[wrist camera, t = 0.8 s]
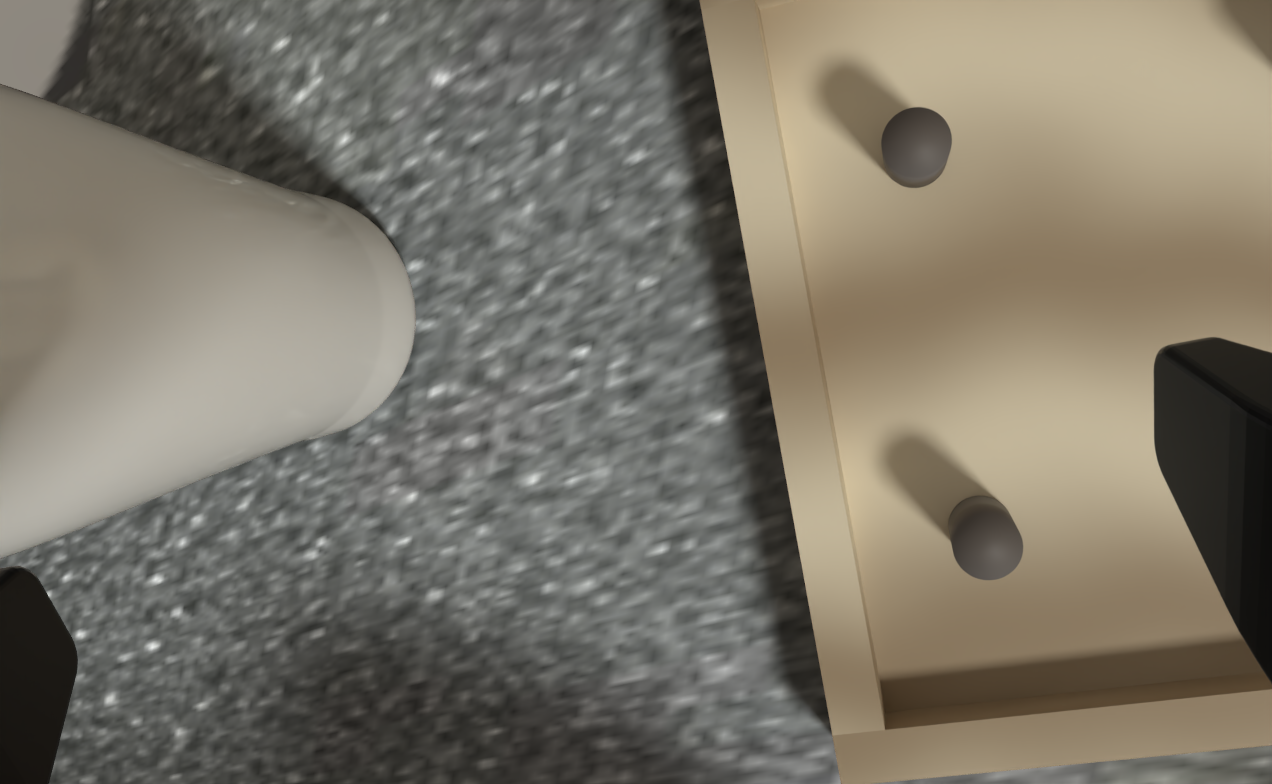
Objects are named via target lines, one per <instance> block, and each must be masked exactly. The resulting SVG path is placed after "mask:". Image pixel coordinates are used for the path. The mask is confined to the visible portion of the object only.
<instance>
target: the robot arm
mask: <svg viewBox="0 0 1272 784" xmlns="http://www.w3.org/2000/svg"><path fill="white" fill-rule="evenodd" d="M1153 373H1154V446H1155V452H1156V457H1157V461H1158V464H1159V467H1160V470H1161V472H1162V475H1163V477H1164V479H1165V481H1166V483H1167V485H1168V487H1169V489H1170V491H1171V494H1172V496H1173V498H1174V500H1175V502H1176V504H1177V506H1178V508H1179V510H1180V512H1181V514H1182V516H1183V518H1184V521H1185V523H1186V525H1187V527H1188V529H1189V531H1190V533H1191V535H1192V537H1193V539H1194V541H1195V543H1196V545H1197V547H1198V550H1199V552H1200V554H1201V556H1202V558H1203V560H1204V562H1205V564H1206V566H1207V568H1208V570H1209V572H1210V574H1211V577H1212V579H1213V581H1214V583H1215V585H1216V587H1217V589H1218V591H1219V593H1220V595H1221V597H1222V599H1223V601H1224V603H1225V606H1226V607H1227V609H1228V611H1229V613H1230V615H1231V617H1232V619H1233V621H1234V623H1235V625H1236V627H1237V629H1238V631H1239V632H1240V634H1241V636H1242V637H1243V639H1244V641H1245V642H1246V644H1247V646H1248V647H1249V649H1250V651H1251V652H1252V654H1253V656H1254V657H1255V659H1256V660H1257V662H1258V663H1259V665H1260V667H1261V668H1262V670H1263V671H1264V673H1265V674H1266V676H1267V677H1268V679H1269V680H1270V682H1271V684H1272V353H1271V352H1268V351H1264V350H1261V349H1257V348H1254V347H1250V346H1247V345H1243V344H1240V343H1236V342H1233V341H1229V340H1226V339H1223V338H1219V337H1206V338H1201V339H1196V340H1191V341H1185V342H1180V343H1175V344H1170V345H1167V346H1164V347H1162V348H1161V349H1160V350H1159V352H1158V353H1157V355H1156V358H1155V362H1154V371H1153ZM77 664H78V658H77V651H76V647H75V644H74V641H73V639H72V637H71V635H70V633H69V632H68V630H67V628H66V626H65V625H64V623H63V621H62V619H61V617H60V616H59V614H58V612H57V610H56V609H55V607H54V605H53V603H52V602H51V600H50V598H49V596H48V595H47V593H46V591H45V589H44V588H43V586H42V584H41V582H40V581H39V579H38V578H37V576H36V575H35V574H34V573H33V572H31V571H30V570H29V569H27V568H24V567H21V566H11V567H6V568H0V784H49V781H50V777H51V773H52V769H53V765H54V761H55V757H56V753H57V749H58V745H59V741H60V737H61V733H62V729H63V725H64V721H65V717H66V713H67V709H68V706H69V702H70V698H71V694H72V690H73V686H74V682H75V678H76V674H77Z"/></svg>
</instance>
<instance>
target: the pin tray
mask: <svg viewBox="0 0 1272 784" xmlns="http://www.w3.org/2000/svg"><path fill="white" fill-rule="evenodd" d="M700 6H701V11H702V17H703V22H704V28H705V33H706V39H707V44H708V50H709V55H710V61H711V66H712V72H713V77H714V83H715V89H716V94H717V100H718V105H719V111H720V116H721V122H722V127H723V133H724V138H725V144H726V149H727V155H728V160H729V166H730V171H731V177H732V183H733V188H734V194H735V199H736V205H737V210H738V216H739V221H740V227H741V232H742V238H743V243H744V249H745V254H746V260H747V266H748V271H749V277H750V282H751V288H752V293H753V299H754V304H755V310H756V315H757V321H758V326H759V332H760V337H761V343H762V348H763V354H764V360H765V365H766V371H767V376H768V382H769V387H770V393H771V398H772V404H773V409H774V415H775V420H776V426H777V431H778V437H779V443H780V448H781V454H782V459H783V465H784V470H785V476H786V481H787V487H788V492H789V498H790V503H791V509H792V514H793V520H794V526H795V531H796V537H797V542H798V548H799V553H800V559H801V564H802V570H803V575H804V581H805V586H806V592H807V597H808V603H809V608H810V614H811V620H812V625H813V631H814V636H815V642H816V647H817V653H818V658H819V664H820V669H821V675H822V680H823V686H824V691H825V697H826V703H827V708H828V714H829V719H830V725H831V730H832V736H833V741H834V747H835V752H836V758H837V763H838V769H839V774H840V780H841V784H872V783H882V782H893V781H903V780H914V779H924V778H935V777H945V776H956V775H966V774H977V773H987V772H998V771H1008V770H1019V769H1029V768H1040V767H1050V766H1061V765H1071V764H1081V763H1092V762H1102V761H1113V760H1123V759H1134V758H1144V757H1155V756H1165V755H1176V754H1186V753H1197V752H1207V751H1218V750H1228V749H1239V748H1249V747H1260V746H1270V745H1272V684H1271V682H1270V680H1269V679H1268V677H1267V676H1266V674H1265V673H1264V671H1263V670H1262V668H1261V667H1260V665H1259V663H1258V662H1257V660H1256V659H1255V657H1254V656H1253V654H1252V652H1251V651H1250V649H1249V647H1248V646H1247V644H1246V642H1245V641H1244V639H1243V637H1242V636H1241V634H1240V632H1239V631H1238V629H1237V627H1236V625H1235V623H1234V621H1233V619H1232V617H1231V615H1230V613H1229V611H1228V609H1227V607H1226V606H1225V603H1224V601H1223V599H1222V597H1221V595H1220V593H1219V591H1218V589H1217V587H1216V585H1215V583H1214V581H1213V579H1212V577H1211V574H1210V572H1209V570H1208V568H1207V566H1206V564H1205V562H1204V560H1203V558H1202V556H1201V554H1200V552H1199V550H1198V547H1197V545H1196V543H1195V541H1194V539H1193V537H1192V535H1191V533H1190V531H1189V529H1188V527H1187V525H1186V523H1185V521H1184V518H1183V516H1182V514H1181V512H1180V510H1179V508H1178V506H1177V504H1176V502H1175V500H1174V498H1173V496H1172V494H1171V491H1170V489H1169V487H1168V485H1167V483H1166V481H1165V479H1164V477H1163V475H1162V472H1161V470H1160V467H1159V464H1158V461H1157V457H1156V452H1155V446H1154V373H1153V371H1154V362H1155V358H1156V355H1157V353H1158V352H1159V350H1160V349H1161V348H1162V347H1164V346H1167V345H1170V344H1175V343H1180V342H1185V341H1191V340H1196V339H1201V338H1206V337H1219V338H1223V339H1226V340H1229V341H1233V342H1236V343H1240V344H1243V345H1247V346H1250V347H1254V348H1257V349H1261V350H1264V351H1268V352H1271V353H1272V0H700Z"/></svg>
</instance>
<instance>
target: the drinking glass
mask: <svg viewBox="0 0 1272 784" xmlns="http://www.w3.org/2000/svg"><path fill="white" fill-rule="evenodd" d="M415 327H416V310H415V300H414V294H413V289H412V286H411V282H410V278H409V276H408V273H407V270H406V268H405V266H404V264H403V261H402V259H401V257H400V256H399V254H398V252H397V251H396V249H395V247H394V246H393V245H392V243H391V242H390V241H389V239H388V238H387V237H386V236H385V234H384V233H383V232H382V231H381V230H380V229H379V228H378V227H377V226H376V225H375V224H374V223H373V222H371V221H370V220H369V219H368V218H366V217H365V216H364V215H362V214H361V213H360V212H358V211H356V210H354V209H353V208H351V207H349V206H347V205H345V204H343V203H341V202H339V201H336V200H333V199H330V198H327V197H324V196H319V195H315V194H310V193H306V192H300V191H295V190H290V189H287V188H284V187H281V186H279V185H276V184H273V183H270V182H267V181H264V180H262V179H259V178H256V177H253V176H250V175H248V174H245V173H242V172H239V171H237V170H234V169H231V168H228V167H226V166H223V165H220V164H217V163H215V162H212V161H209V160H207V159H204V158H201V157H199V156H196V155H193V154H190V153H188V152H185V151H182V150H180V149H177V148H174V147H172V146H169V145H166V144H164V143H161V142H158V141H156V140H153V139H150V138H148V137H145V136H142V135H140V134H137V133H134V132H132V131H129V130H126V129H124V128H121V127H118V126H116V125H113V124H110V123H108V122H105V121H102V120H100V119H97V118H94V117H92V116H89V115H86V114H84V113H81V112H78V111H76V110H73V109H70V108H68V107H65V106H62V105H59V104H57V103H54V102H51V101H48V100H46V99H43V98H40V97H37V96H34V95H32V94H29V93H26V92H23V91H20V90H17V89H14V88H11V87H8V86H5V85H2V84H0V559H2V558H5V557H8V556H11V555H14V554H16V553H19V552H22V551H25V550H28V549H30V548H33V547H36V546H38V545H41V544H43V543H46V542H49V541H51V540H54V539H56V538H59V537H61V536H64V535H67V534H69V533H72V532H74V531H77V530H79V529H82V528H84V527H87V526H89V525H92V524H94V523H97V522H99V521H102V520H104V519H107V518H109V517H112V516H114V515H116V514H119V513H121V512H124V511H126V510H129V509H131V508H134V507H136V506H139V505H141V504H144V503H146V502H148V501H151V500H153V499H156V498H158V497H161V496H163V495H166V494H168V493H171V492H173V491H175V490H178V489H180V488H183V487H185V486H188V485H190V484H193V483H195V482H198V481H200V480H203V479H205V478H208V477H210V476H213V475H215V474H218V473H220V472H223V471H225V470H228V469H230V468H233V467H235V466H238V465H241V464H243V463H246V462H248V461H251V460H253V459H256V458H258V457H261V456H264V455H266V454H269V453H271V452H274V451H277V450H279V449H282V448H285V447H287V446H290V445H293V444H295V443H298V442H302V441H307V440H311V439H316V438H320V437H324V436H328V435H331V434H335V433H337V432H340V431H342V430H345V429H347V428H349V427H351V426H353V425H355V424H357V423H359V422H360V421H362V420H363V419H365V418H366V417H368V416H369V415H370V414H371V413H373V412H374V411H375V410H376V409H377V408H378V407H379V406H380V405H381V404H382V403H383V402H384V401H385V400H386V399H387V398H388V396H389V395H390V394H391V393H392V391H393V390H394V389H395V387H396V385H397V384H398V382H399V381H400V379H401V377H402V375H403V373H404V371H405V369H406V366H407V364H408V361H409V358H410V355H411V351H412V347H413V342H414V337H415Z"/></svg>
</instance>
